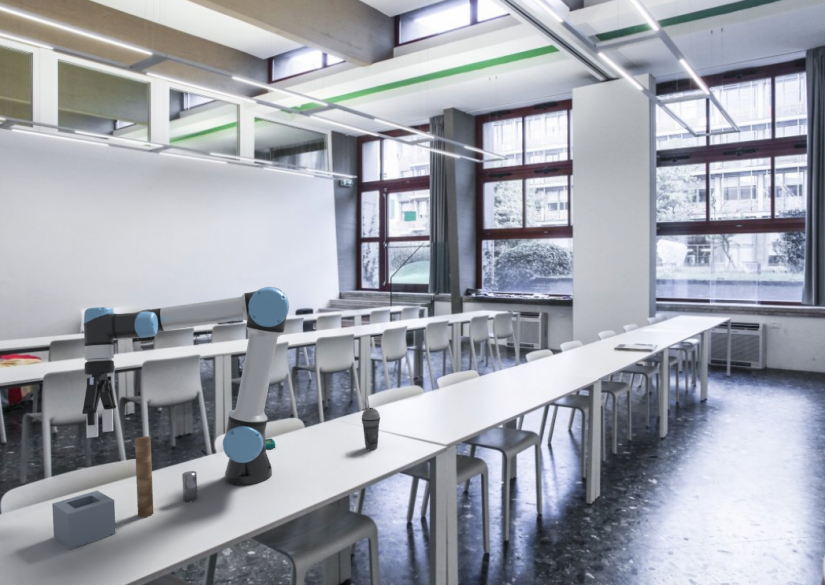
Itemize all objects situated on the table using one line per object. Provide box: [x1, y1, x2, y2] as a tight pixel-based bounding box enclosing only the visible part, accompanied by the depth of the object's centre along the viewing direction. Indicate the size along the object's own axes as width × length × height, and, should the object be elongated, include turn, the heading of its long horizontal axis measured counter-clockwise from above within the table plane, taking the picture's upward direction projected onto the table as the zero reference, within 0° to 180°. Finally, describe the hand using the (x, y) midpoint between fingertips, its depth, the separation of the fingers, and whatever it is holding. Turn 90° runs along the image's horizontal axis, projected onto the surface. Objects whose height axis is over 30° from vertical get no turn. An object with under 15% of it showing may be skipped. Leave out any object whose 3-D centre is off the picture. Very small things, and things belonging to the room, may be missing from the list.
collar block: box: [51, 490, 117, 550], centre depth 148 cm, size 11×11×9 cm
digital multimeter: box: [265, 438, 276, 450], centre depth 220 cm, size 7×15×3 cm, turn 112°
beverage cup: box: [361, 396, 381, 451], centre depth 217 cm, size 7×7×20 cm
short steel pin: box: [181, 470, 198, 503], centre depth 171 cm, size 4×4×8 cm
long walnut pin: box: [134, 435, 154, 518], centre depth 160 cm, size 4×4×22 cm
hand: (100, 434), depth 162 cm, fingers open, 13 cm apart
